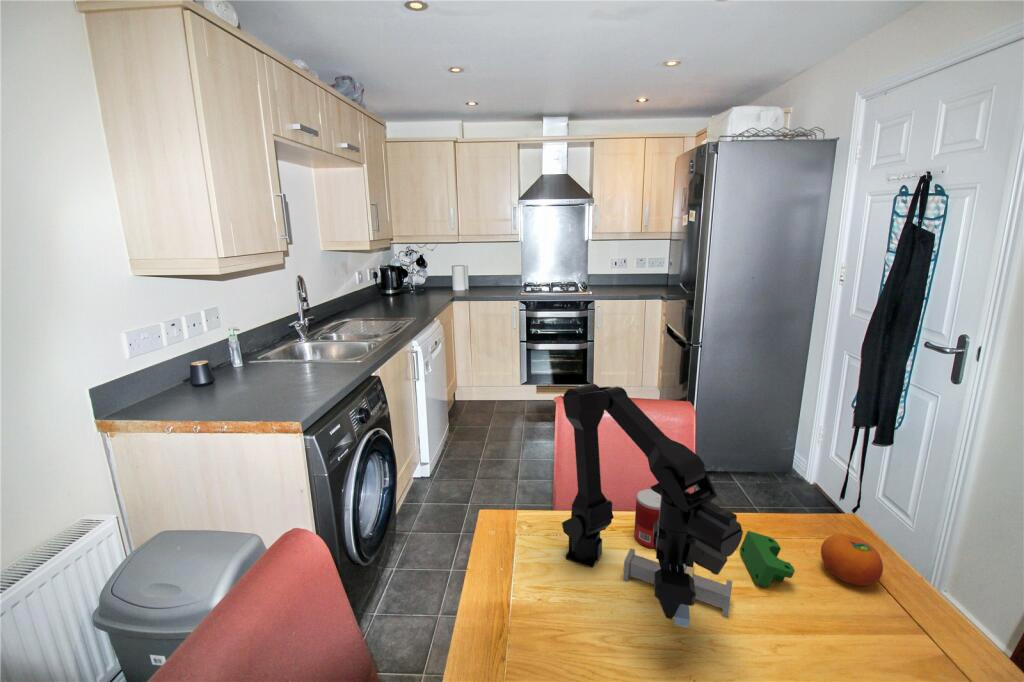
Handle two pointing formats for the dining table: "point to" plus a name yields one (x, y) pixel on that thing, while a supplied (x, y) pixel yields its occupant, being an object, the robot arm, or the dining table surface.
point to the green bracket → (764, 559)
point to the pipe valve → (703, 586)
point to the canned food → (646, 516)
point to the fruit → (851, 559)
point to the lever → (682, 613)
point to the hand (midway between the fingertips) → (668, 598)
